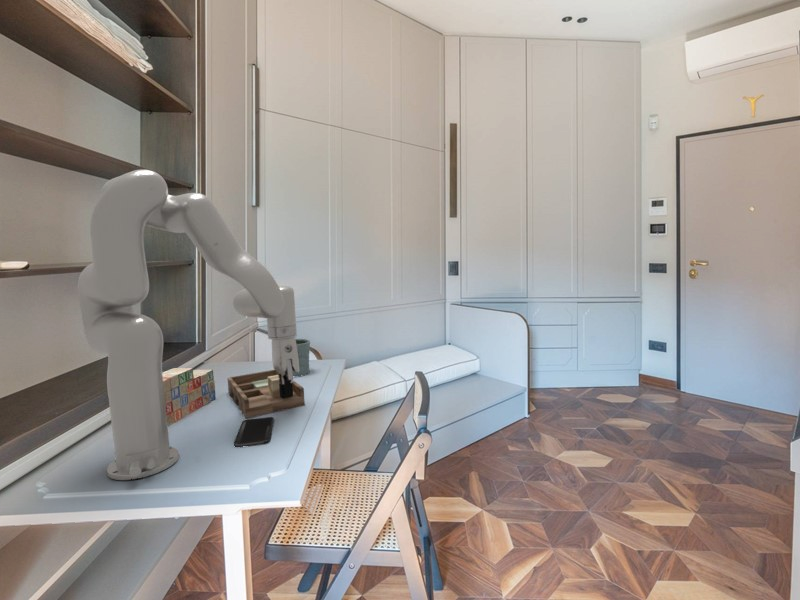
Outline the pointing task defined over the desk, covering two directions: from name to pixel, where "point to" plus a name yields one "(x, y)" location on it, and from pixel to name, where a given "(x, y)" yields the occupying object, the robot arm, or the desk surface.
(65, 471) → the desk surface
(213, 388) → the stack of blocks
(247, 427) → the phone
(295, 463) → the desk surface
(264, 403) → the wooden shelf
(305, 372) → the grey green pot
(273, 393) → the maple block
